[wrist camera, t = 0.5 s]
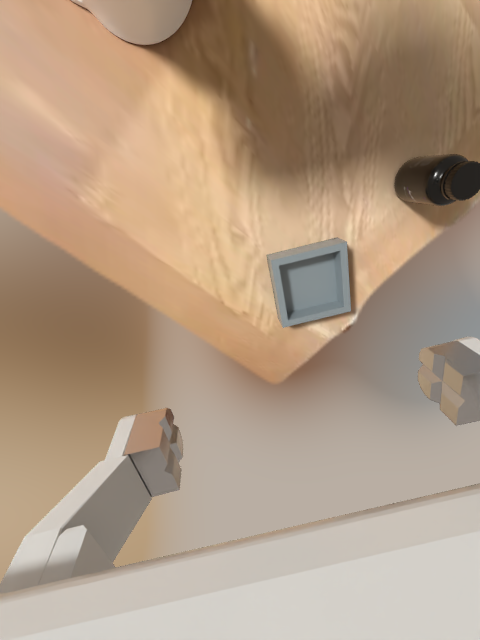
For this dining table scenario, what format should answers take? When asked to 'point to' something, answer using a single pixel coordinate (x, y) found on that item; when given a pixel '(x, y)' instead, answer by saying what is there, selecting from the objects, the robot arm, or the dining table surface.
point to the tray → (310, 281)
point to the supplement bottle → (437, 179)
